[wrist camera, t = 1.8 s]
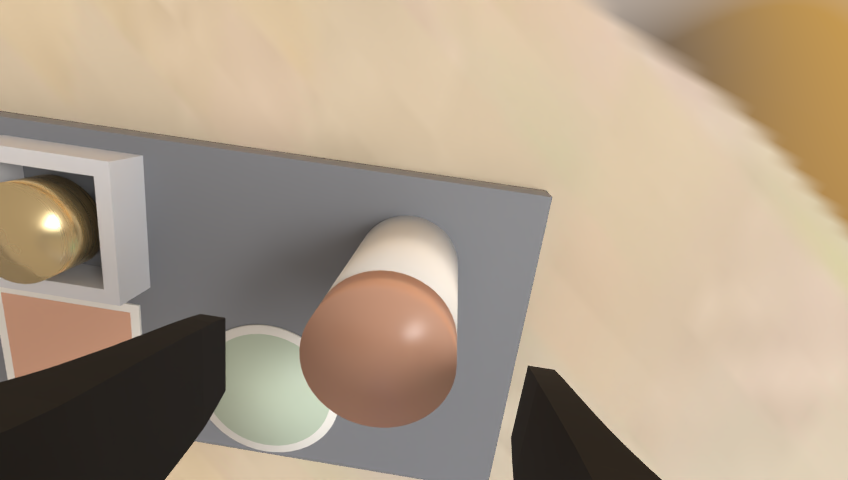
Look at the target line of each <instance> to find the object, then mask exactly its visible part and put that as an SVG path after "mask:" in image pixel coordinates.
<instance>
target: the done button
mask: <svg viewBox="0 0 848 480" xmlns="http://www.w3.org/2000/svg"><path fill="white" fill-rule="evenodd" d="M99 250H100V240H99V229H98V218H97V207H96V203H95V201H94V200H93V198H92V197H91V196H90V195H89V194H88V193H87V192H86V191H85V190H84V189H83V188H82V187H81V186H79V185H78V184H76V183H75V182H73V181H71V180H69V179H67V178H64V177H62V176H58V175H51V174H44V175H38V176H32V177H27V178H22V179H16V180H11V181H6V182H0V277H1V278H3V279H5V280H8V281H10V282H14V283H19V284H33V283H38V282H41V281H43V280H46V279H48V278H50V277H52V276H55V275H57V274H59V273H62V272H64V271H66V270H68V269H71V268H73V267H75V266H77V265H80V264H82V263H84V262H86V261H88V260H90V259H92V258H93V257H94V256H95V255H96V254H97V253H98V252H99Z"/></svg>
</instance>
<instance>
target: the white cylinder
mask: <svg viewBox="0 0 848 480" xmlns="http://www.w3.org/2000/svg"><path fill="white" fill-rule="evenodd" d="M457 308H458V258H457V253H456V250H455V247H454V245H453V243H452V241H451V240H450V238H449V237H448V235H447V234H446V233H445V232H444V231H443V230H442V229H441V228H440V227H438V226H437V225H435V224H434V223H432V222H430V221H428V220H426V219H423V218H420V217H415V216H397V217H392V218H389V219H386V220H384V221H382V222H380V223H379V224H377V225H376V226H375V227H373V228H372V229H371V230H370V231H369V232H368V234H367V235H366V236H365V238H364V239H363V241H362V242H361V244H360V245H359V247H358V248H357V250H356V251H355V253H354V254H353V256H352V257H351V259H350V260H349V262H348V263H347V265H346V266H345V268H344V269H343V271H342V272H341V273H340V275H339V276H338V278H337V279H336V281H335V282H334V284H333V285H332V287H331V288H330V290H329V291H328V293H327V294H326V296H325V297H324V299H323V300H322V302H321V303H320V305H319V306H318V308H317V309H316V311H315V312H314V314H313V315H312V317H311V318H310V320H309V321H308V323H307V324H306V326H305V329H304V331H303V334H302V337H301V341H300V348H299V356H300V364H301V369H302V372H303V375H304V378H305V380H306V382H307V384H308V386H309V387H310V389H311V391H312V392H313V393H314V395H315V396H316V397H317V398H318V399H319V400H320V401H321V402H322V403H323V404H324V405H325V406H326V407H327V408H328V409H330V410H331V411H332V412H334V413H335V414H337V415H339V416H340V417H342V418H344V419H347V420H349V421H351V422H354V423H357V424H360V425H365V426H369V427H378V428H391V427H399V426H403V425H408V424H411V423H413V422H416V421H418V420H420V419H422V418H424V417H426V416H427V415H429V414H430V413H432V412H433V411H434V410H435V409H437V408H438V407H439V406H440V405H441V403H442V402H443V401H444V400H445V399H446V397H447V395H448V394H449V392H450V390H451V388H452V386H453V383H454V379H455V376H456V368H457Z"/></svg>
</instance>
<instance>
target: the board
mask: <svg viewBox="0 0 848 480" xmlns="http://www.w3.org/2000/svg"><path fill="white" fill-rule="evenodd" d="M44 174H51V175H58V176H62V177H64V178H67V179H69V180H71V181H73V182H75V183H76V184H78V185H79V186H81V187H82V188H83V189H84V190H85V191H86V192H87V193H88V194H89V195H90V196H91V197H92V198H93V200H94V201H95V203H96V207H97V218H98V229H99V240H100V250H99V252H98V253H97V254H96V255H95V256H94V257H93V258H92V259H90V260H88V261H86V262H84V263H82V264H80V265H77V266H75V267H73V268H71V269H68V270H66V271H64V272H62V273H59V274H57V275H55V276H52V277H50V278H48V279H46V280H43V281H41V282H38V283H33V284H19V283H14V282H10V281H8V280H5V279H3V278H1V277H0V382H3V381H6V380H10V379H13V378H17V377H21V376H24V375H27V374H31V373H34V372H37V371H41V370H44V369H47V368H50V367H53V366H56V365H59V364H62V363H65V362H68V361H71V360H74V359H77V358H79V357H82V356H85V355H88V354H91V353H94V352H97V351H99V350H102V349H105V348H108V347H111V346H113V345H116V344H119V343H121V342H124V341H127V340H129V339H132V338H134V337H137V336H140V335H142V334H145V333H147V332H150V331H153V330H155V329H158V328H160V327H163V326H166V325H168V324H171V323H174V322H177V321H179V320H182V319H185V318H188V317H191V316H195V315H198V314H205V315H211V316H217V317H224V318H225V319H226V391H225V393H224V395H223V396H222V398H221V400H220V402H219V404H218V405H217V407H216V409H215V411H214V412H213V414H212V416H211V417H210V419H209V421H208V422H207V424H206V426H205V427H204V429H203V430H202V432H201V433H200V434H199V436H198V437H197V438H196V440H195V441H197V442H203V443H209V444H215V445H221V446H227V447H233V448H239V449H244V450H250V451H256V452H262V453H268V454H274V455H280V456H286V457H292V458H298V459H304V460H310V461H316V462H322V463H328V464H334V465H340V466H346V467H352V468H358V469H364V470H370V471H375V472H381V473H387V474H393V475H399V476H405V477H411V478H417V479H423V480H489V477H490V472H491V468H492V463H493V459H494V455H495V450H496V446H497V441H498V437H499V432H500V428H501V423H502V419H503V414H504V410H505V406H506V401H507V397H508V392H509V388H510V383H511V379H512V374H513V370H514V365H515V361H516V357H517V352H518V348H519V343H520V339H521V334H522V330H523V325H524V321H525V316H526V312H527V308H528V303H529V299H530V294H531V290H532V285H533V281H534V276H535V272H536V267H537V263H538V259H539V254H540V250H541V245H542V241H543V236H544V232H545V227H546V223H547V218H548V214H549V210H550V205H551V201H552V196H551V195H550V194H549V193H548V192H547V191H544V190H537V189H530V188H523V187H517V186H510V185H503V184H496V183H489V182H482V181H475V180H469V179H462V178H455V177H448V176H441V175H434V174H428V173H421V172H414V171H407V170H400V169H393V168H386V167H380V166H373V165H366V164H359V163H352V162H345V161H338V160H332V159H325V158H318V157H311V156H304V155H297V154H291V153H284V152H277V151H270V150H263V149H256V148H249V147H243V146H236V145H229V144H222V143H215V142H208V141H201V140H195V139H188V138H181V137H174V136H167V135H160V134H154V133H147V132H140V131H133V130H126V129H119V128H112V127H106V126H99V125H92V124H85V123H78V122H71V121H64V120H58V119H51V118H44V117H37V116H30V115H23V114H17V113H10V112H3V111H0V182H6V181H11V180H16V179H22V178H27V177H32V176H38V175H44ZM397 216H415V217H420V218H423V219H426V220H428V221H430V222H432V223H434V224H435V225H437V226H438V227H440V228H441V229H442V230H443V231H444V232H445V233H446V234H447V235H448V237H449V238H450V240H451V241H452V243H453V245H454V247H455V250H456V253H457V258H458V308H457V368H456V376H455V379H454V383H453V386H452V388H451V390H450V392H449V394H448V395H447V397H446V399H445V400H444V401H443V402H442V403H441V405H440V406H439V407H438V408H437V409H435V410H434V411H433V412H432V413H430V414H429V415H427V416H426V417H424V418H422V419H420V420H418V421H416V422H413V423H411V424H408V425H403V426H399V427H391V428H378V427H369V426H365V425H360V424H357V423H354V422H351V421H349V420H347V419H344V418H342V417H340V416H339V415H337V414H335V413H334V412H332V411H331V410H330V409H328V408H327V407H326V406H325V405H324V404H323V403H322V402H321V401H320V400H319V399H318V398H317V397H316V396H315V395H314V393H313V392H312V391H311V389H310V387H309V386H308V384H307V382H306V380H305V378H304V375H303V372H302V369H301V364H300V356H299V348H300V341H301V337H302V334H303V331H304V329H305V326H306V324H307V323H308V321H309V320H310V318H311V317H312V315H313V314H314V312H315V311H316V309H317V308H318V306H319V305H320V303H321V302H322V300H323V299H324V297H325V296H326V294H327V293H328V291H329V290H330V288H331V287H332V285H333V284H334V282H335V281H336V279H337V278H338V276H339V275H340V273H341V272H342V271H343V269H344V268H345V266H346V265H347V263H348V262H349V260H350V259H351V257H352V256H353V254H354V253H355V251H356V250H357V248H358V247H359V245H360V244H361V242H362V241H363V239H364V238H365V236H366V235H367V234H368V232H369V231H370V230H371V229H372V228H373V227H375V226H376V225H377V224H379V223H380V222H382V221H384V220H386V219H389V218H392V217H397Z"/></svg>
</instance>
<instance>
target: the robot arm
mask: <svg viewBox="0 0 848 480" xmlns="http://www.w3.org/2000/svg"><path fill="white" fill-rule="evenodd" d="M225 391H226V319H225V318H224V317H217V316H211V315H205V314H198V315H195V316H191V317H188V318H185V319H182V320H179V321H177V322H174V323H171V324H168V325H166V326H163V327H160V328H158V329H155V330H153V331H150V332H147V333H145V334H142V335H140V336H137V337H134V338H132V339H129V340H127V341H124V342H121V343H119V344H116V345H113V346H111V347H108V348H105V349H102V350H99V351H97V352H94V353H91V354H88V355H85V356H82V357H79V358H77V359H74V360H71V361H68V362H65V363H62V364H59V365H56V366H53V367H50V368H47V369H44V370H41V371H37V372H34V373H31V374H27V375H24V376H21V377H17V378H13V379H10V380H6V381H3V382H0V480H165V479H166V477H167V476H168V475H169V473H170V472H171V471H172V470H173V468H174V467H175V466H176V464H177V463H178V462H179V461H180V459H181V458H182V457H183V455H184V454H185V453H186V451H187V450H188V449H189V447H190V446H191V445H192V444H193V442H194V441H195V440H196V438H197V437H198V436H199V434H200V433H201V432H202V430H203V429H204V427H205V426H206V424H207V422H208V421H209V419H210V417H211V416H212V414H213V412H214V411H215V409H216V407H217V405H218V404H219V402H220V400H221V398H222V396H223V395H224V393H225ZM511 444H512V464H513V478H514V480H661V479H660V478H659V477H658V476H657V475H656V474H655V473H654V472H652V471H651V470H650V469H649V468H648V467H647V466H646V465H645V464H644V463H643V462H642V461H641V460H640V459H639V458H638V457H636V456H635V455H634V454H633V453H632V452H631V451H630V450H629V449H628V448H627V447H626V446H625V445H624V444H623V443H622V442H621V441H620V440H619V439H618V438H617V437H616V436H615V435H614V434H613V433H612V432H611V431H610V430H609V429H608V428H607V427H606V426H605V425H604V423H603V422H602V421H601V420H600V419H599V418H598V417H597V416H596V415H595V414H594V413H593V412H592V410H591V409H590V408H589V407H588V406H587V405H586V404H585V403H584V402H583V401H582V399H581V398H580V397H579V396H578V395H577V394H576V393H575V392H574V390H573V389H572V388H571V387H570V386H569V385H568V384H567V383H566V382H565V380H564V379H563V378H562V377H561V376H560V375H559V374H558V373H557V372H556V371H555V370H552V369H546V368H539V367H533V366H528V368H527V373H526V377H525V381H524V385H523V389H522V394H521V398H520V402H519V406H518V411H517V415H516V419H515V423H514V428H513V432H512V436H511Z"/></svg>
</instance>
